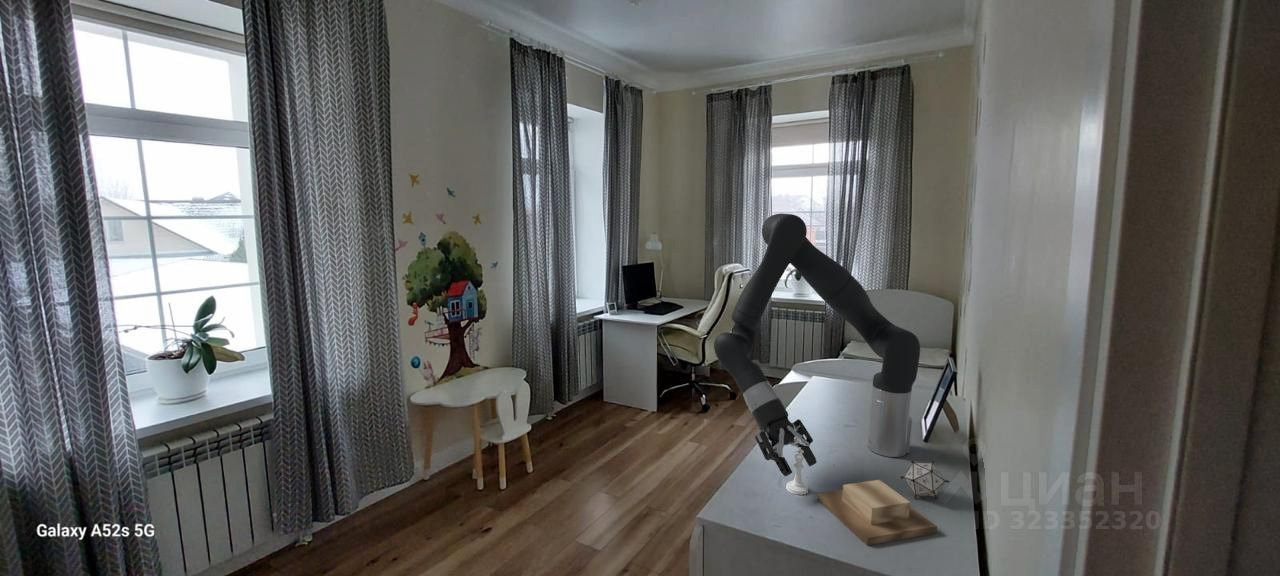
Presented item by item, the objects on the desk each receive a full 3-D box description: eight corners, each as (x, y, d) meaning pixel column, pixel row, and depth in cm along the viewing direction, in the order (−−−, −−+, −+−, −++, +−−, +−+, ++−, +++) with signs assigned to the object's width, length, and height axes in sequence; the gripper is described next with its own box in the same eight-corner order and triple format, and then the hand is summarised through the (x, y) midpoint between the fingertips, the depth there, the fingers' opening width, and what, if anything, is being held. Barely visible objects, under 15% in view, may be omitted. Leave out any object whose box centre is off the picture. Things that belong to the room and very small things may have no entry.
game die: (928, 515, 114) (947, 497, 107) (891, 492, 118) (906, 473, 111) (940, 484, 119) (959, 465, 112) (904, 463, 123) (919, 443, 116)
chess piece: (809, 496, 115) (812, 453, 113) (786, 493, 116) (789, 451, 114) (807, 484, 119) (809, 444, 118) (785, 482, 120) (787, 441, 119)
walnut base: (879, 490, 117) (881, 470, 116) (936, 532, 102) (938, 509, 101) (817, 499, 113) (819, 478, 112) (866, 545, 98) (868, 521, 97)
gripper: (752, 403, 117) (790, 472, 109) (794, 392, 125) (831, 455, 118) (735, 418, 122) (770, 484, 115) (775, 406, 130) (810, 467, 123)
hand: (801, 469), depth 116 cm, fingers open, 8 cm apart
